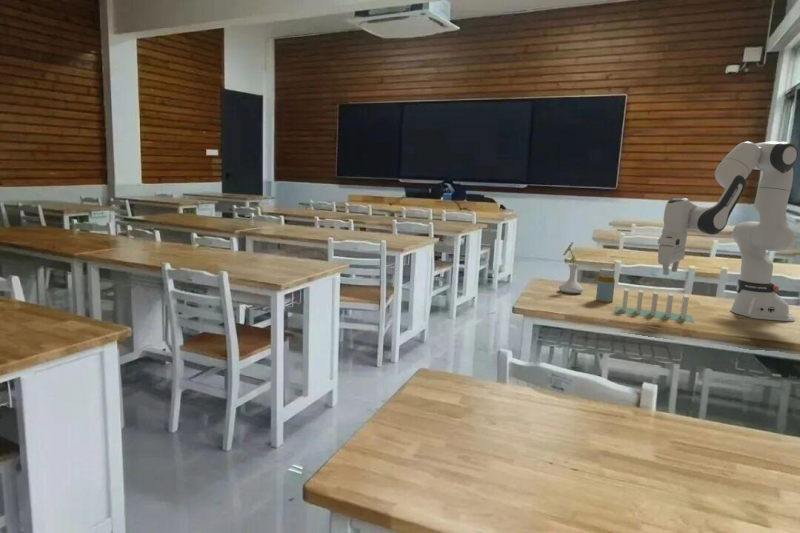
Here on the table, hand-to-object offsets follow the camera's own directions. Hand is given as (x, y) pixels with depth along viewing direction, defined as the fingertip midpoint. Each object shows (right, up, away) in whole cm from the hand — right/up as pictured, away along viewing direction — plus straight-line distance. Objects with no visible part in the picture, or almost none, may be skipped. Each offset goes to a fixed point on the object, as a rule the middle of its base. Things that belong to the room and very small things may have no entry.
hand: (670, 273), depth 213 cm
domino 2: (-5, -17, +5) cm, 18 cm away
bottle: (-17, -14, +25) cm, 33 cm away
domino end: (-15, -16, +9) cm, 23 cm away
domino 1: (-10, -16, +7) cm, 20 cm away
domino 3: (0, -18, +2) cm, 18 cm away
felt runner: (-5, -18, +5) cm, 19 cm away
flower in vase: (-27, -10, +42) cm, 51 cm away
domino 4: (+5, -18, 0) cm, 19 cm away
